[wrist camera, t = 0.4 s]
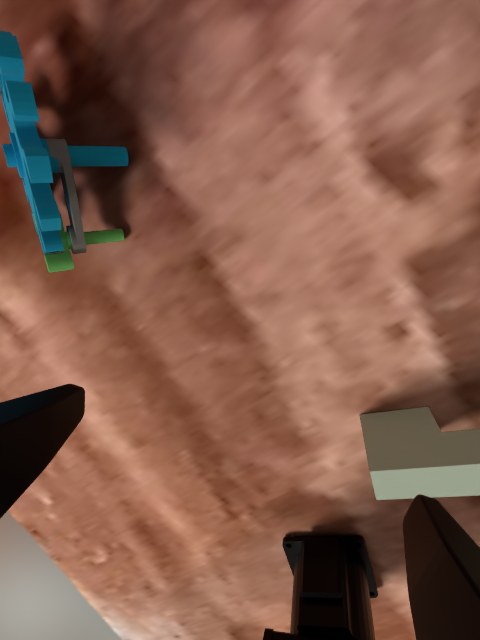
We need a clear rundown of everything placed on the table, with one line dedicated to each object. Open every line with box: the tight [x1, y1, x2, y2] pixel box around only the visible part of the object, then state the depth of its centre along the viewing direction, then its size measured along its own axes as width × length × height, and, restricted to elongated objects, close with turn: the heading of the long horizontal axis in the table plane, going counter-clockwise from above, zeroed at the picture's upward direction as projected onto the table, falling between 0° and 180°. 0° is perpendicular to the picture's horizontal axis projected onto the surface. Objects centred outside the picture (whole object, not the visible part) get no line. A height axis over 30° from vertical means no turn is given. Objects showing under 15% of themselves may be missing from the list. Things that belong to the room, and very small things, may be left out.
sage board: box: [360, 407, 480, 500], centre depth 19 cm, size 2×12×5 cm, turn 108°
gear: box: [0, 31, 128, 272], centre depth 18 cm, size 11×6×10 cm
